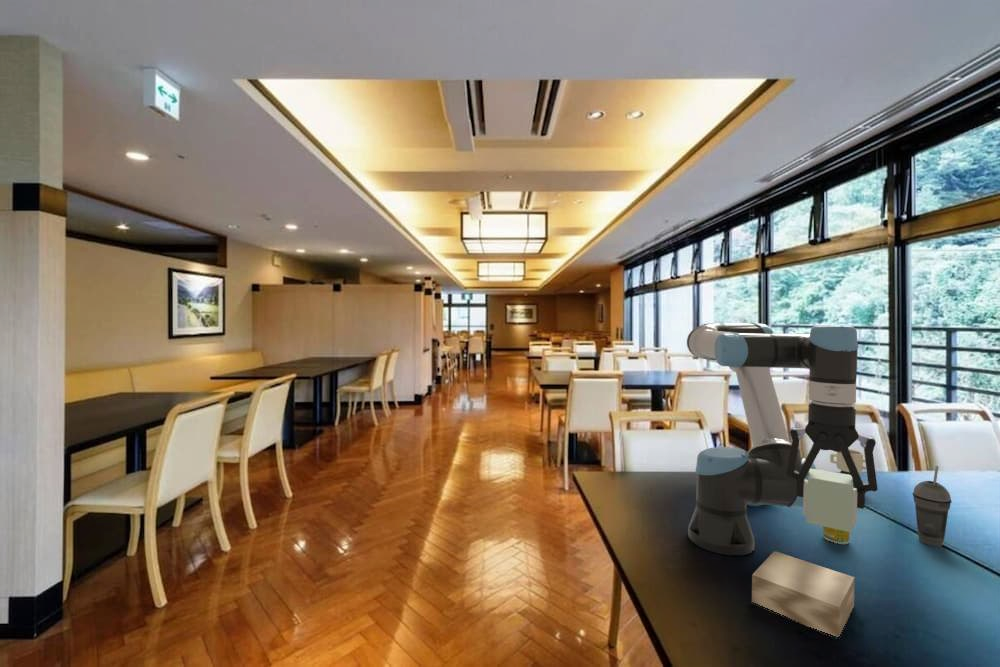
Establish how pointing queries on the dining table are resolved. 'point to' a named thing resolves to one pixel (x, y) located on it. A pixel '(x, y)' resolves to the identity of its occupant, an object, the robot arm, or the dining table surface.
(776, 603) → the maple block
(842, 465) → the character mug
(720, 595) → the dining table surface
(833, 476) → the sage block
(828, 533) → the supplement bottle
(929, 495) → the beverage cup
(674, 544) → the dining table surface
